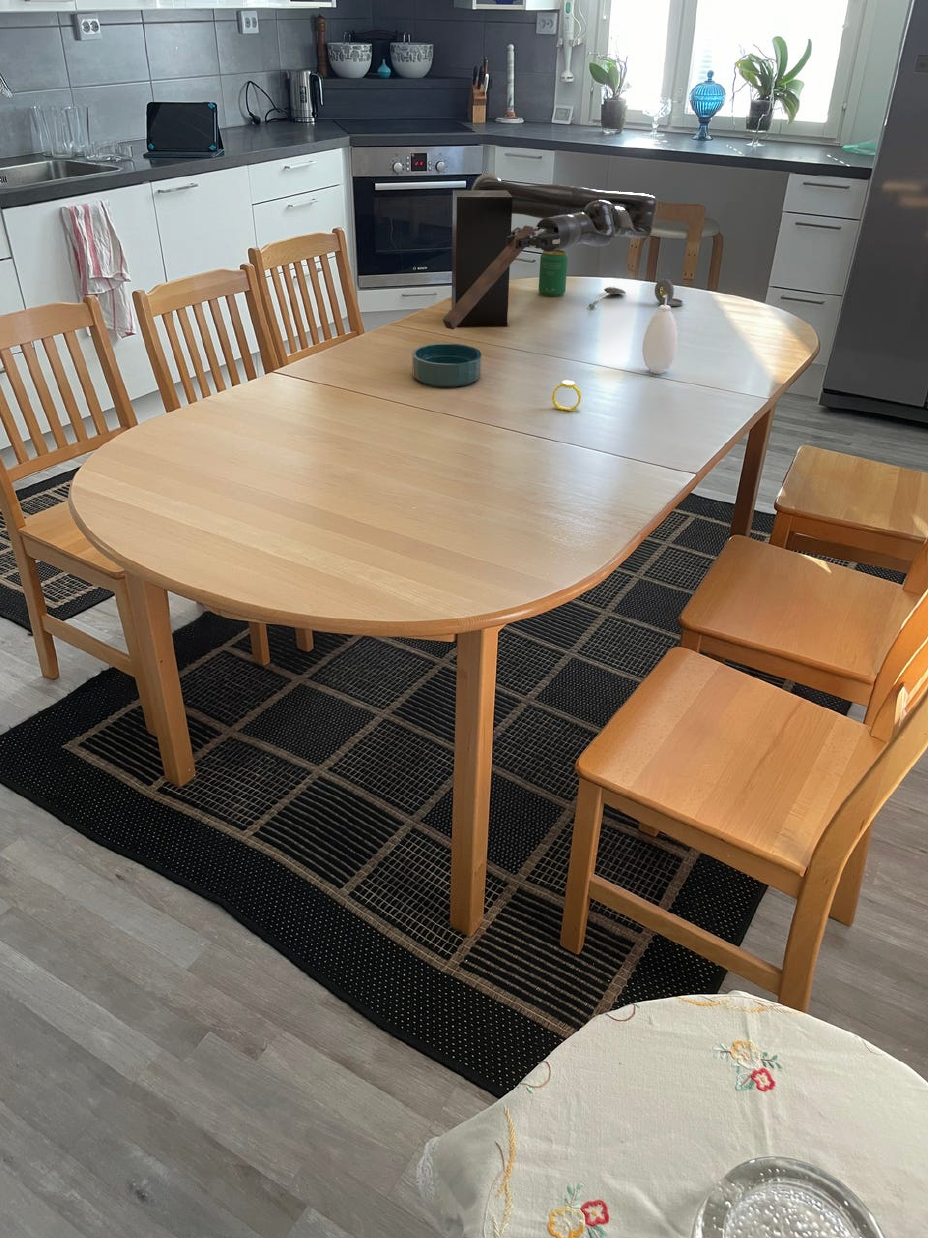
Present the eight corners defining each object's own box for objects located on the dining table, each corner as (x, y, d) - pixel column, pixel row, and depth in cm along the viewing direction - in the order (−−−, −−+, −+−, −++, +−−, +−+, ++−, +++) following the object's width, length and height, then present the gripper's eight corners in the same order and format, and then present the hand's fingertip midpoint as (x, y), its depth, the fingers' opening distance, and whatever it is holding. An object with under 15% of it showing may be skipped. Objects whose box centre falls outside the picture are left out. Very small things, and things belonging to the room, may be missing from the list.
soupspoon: (629, 296, 283) (608, 295, 286) (629, 285, 281) (609, 283, 284) (601, 310, 266) (580, 308, 269) (602, 298, 264) (580, 295, 267)
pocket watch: (683, 302, 276) (688, 267, 270) (679, 309, 269) (684, 273, 264) (655, 299, 278) (660, 264, 272) (650, 306, 271) (655, 270, 266)
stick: (527, 233, 219) (524, 225, 217) (535, 235, 218) (532, 226, 216) (445, 327, 211) (442, 319, 209) (453, 329, 209) (449, 321, 207)
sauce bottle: (666, 366, 225) (677, 289, 215) (678, 377, 218) (689, 297, 209) (635, 367, 224) (644, 290, 214) (646, 378, 217) (656, 298, 208)
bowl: (398, 377, 215) (397, 353, 212) (445, 362, 225) (445, 339, 222) (447, 393, 206) (447, 369, 203) (494, 377, 216) (495, 353, 213)
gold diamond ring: (550, 410, 199) (552, 382, 196) (552, 405, 201) (554, 378, 198) (578, 413, 198) (580, 385, 194) (580, 408, 200) (582, 381, 197)
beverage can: (568, 292, 283) (571, 250, 277) (559, 298, 277) (562, 255, 271) (543, 289, 286) (546, 247, 279) (534, 295, 280) (536, 252, 273)
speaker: (501, 316, 260) (506, 190, 242) (507, 326, 251) (512, 196, 234) (451, 316, 258) (452, 190, 241) (455, 327, 250) (456, 196, 233)
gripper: (580, 253, 223) (534, 264, 212) (535, 244, 231) (488, 255, 220) (583, 219, 219) (536, 229, 208) (536, 211, 227) (489, 220, 216)
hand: (511, 242), depth 214 cm, fingers closed on stick, 2 cm apart
